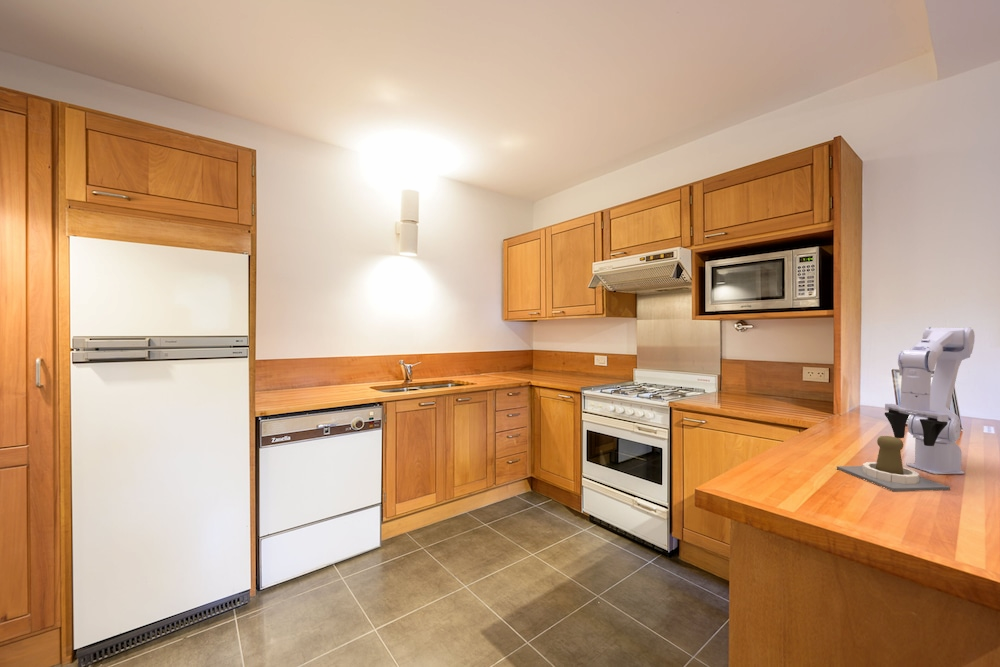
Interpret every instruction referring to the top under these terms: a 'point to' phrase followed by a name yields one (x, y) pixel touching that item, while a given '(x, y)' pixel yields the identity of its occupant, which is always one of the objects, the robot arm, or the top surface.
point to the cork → (889, 455)
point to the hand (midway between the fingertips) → (913, 441)
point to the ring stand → (893, 478)
